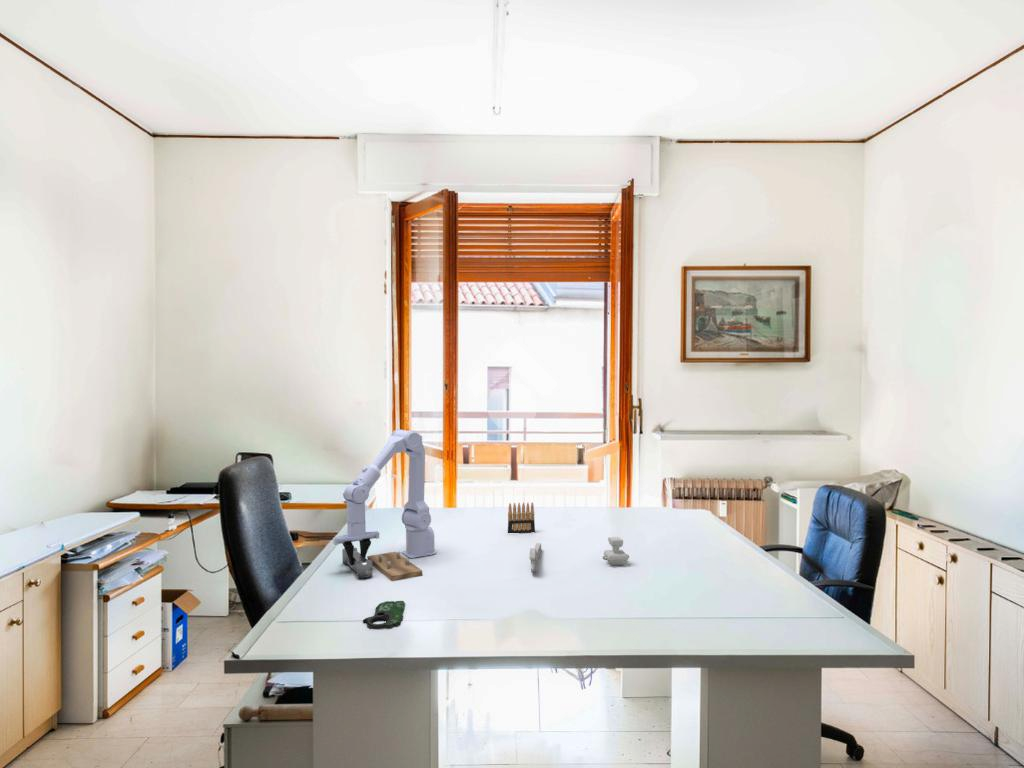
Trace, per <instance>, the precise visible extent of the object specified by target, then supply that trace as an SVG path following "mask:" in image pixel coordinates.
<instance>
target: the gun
mask: <svg viewBox="0 0 1024 768" xmlns="http://www.w3.org/2000/svg"><path fill="white" fill-rule="evenodd" d="M405 607H406V602H405V601H404V600H391V601H390V600H388V601H387V600H386V601H382V602H380V603H379V604H377V606H375V609H374V610H375V612H374V614H373V615H372V616H368V617H365V618H364V619H363V620H362V624H365V623H366V624H365V625H366V628H367V629H369V630H372V629H373V630H382V629H387V630H390V629H393V628H394V627H397V628H398V627H400V626H401V623H402V621H403V620H404V611H405ZM385 621H386V622H385ZM377 622H382V623H377Z"/></svg>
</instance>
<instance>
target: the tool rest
mask: <svg viewBox="0 0 1024 768" xmlns="http://www.w3.org/2000/svg"><path fill="white" fill-rule="evenodd" d="M366 559H367V560H372V567H373V568H376V569H377V570H378V571H379V572H380V573H381V574H383V575H384V576H385V577H387V578H388V579H389V580H390V581H391V582H393V581H394V582H395V581H399V580H405V579H409V578H410V579H411V578H415V577H421V576H423V570H422V569H421V568H419V567H418V566H417V565H415V564H414V563H413V562H411V561H410V558H409V557H404V556H403V555H401V552H400V551H393V552H392V551H391V552H386V553H379V554H373V555H366Z"/></svg>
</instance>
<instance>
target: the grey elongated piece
mask: <svg viewBox="0 0 1024 768" xmlns="http://www.w3.org/2000/svg"><path fill="white" fill-rule="evenodd" d="M341 552H342V553H341V554H342V556H341V557H342V563H343V564H347V565H348V566H349V567H350V568H352V570H354V571H355V572H356V577H358V578H369V577H371V576H373V572H374V571H373V565H372V560H367V557H364V556H362V555H361V554H360V552H359V551H358V548H357V547H354V550H353V560H354V562H353V565H350V563H349V558H348V555H347V552H346V550H345V548H344V547H343V548H342V551H341Z"/></svg>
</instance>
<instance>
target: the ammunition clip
mask: <svg viewBox="0 0 1024 768" xmlns="http://www.w3.org/2000/svg"><path fill="white" fill-rule="evenodd" d="M520 503H521V502H518V504H516V502H514V503H513V505H512V504H511V502H509V504H508V514H507V534H508V533H519V534H532V533H531V532H535V533H536V527H535V525H536V524H535V507H534V502H531V503H530V504H529V502H527V503H526V505H525V502H522V506H521V504H520Z"/></svg>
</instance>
